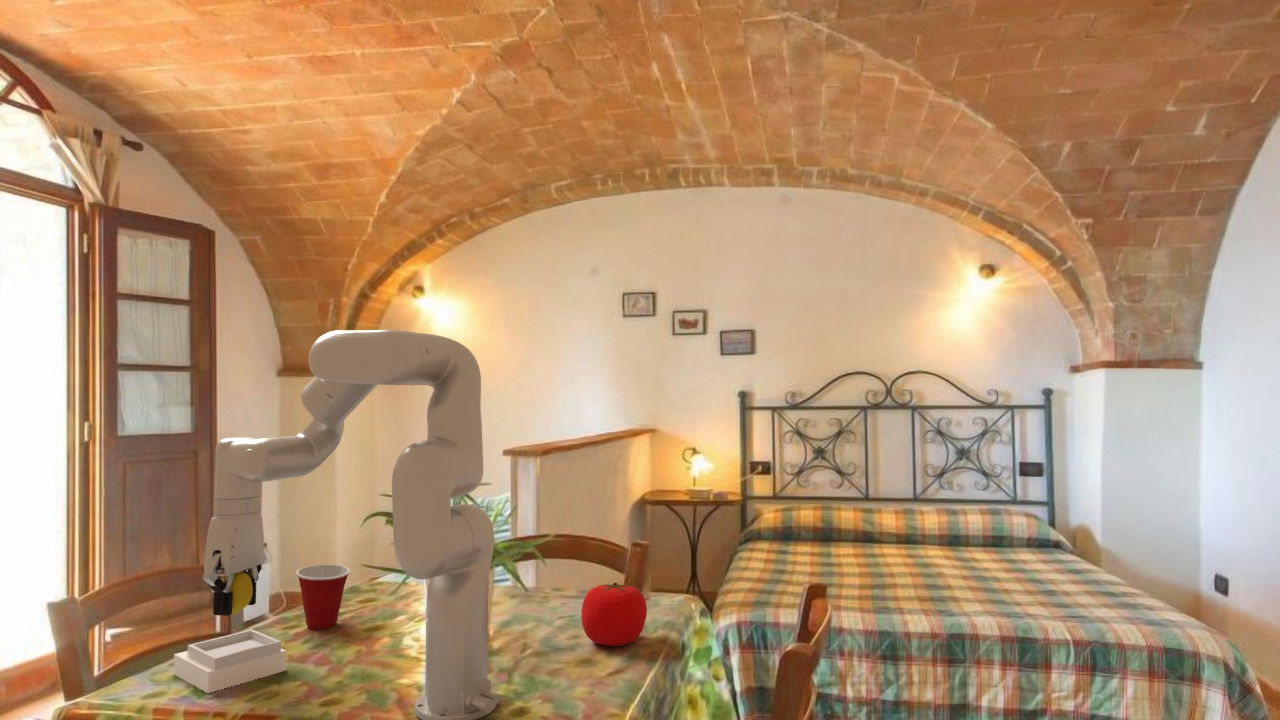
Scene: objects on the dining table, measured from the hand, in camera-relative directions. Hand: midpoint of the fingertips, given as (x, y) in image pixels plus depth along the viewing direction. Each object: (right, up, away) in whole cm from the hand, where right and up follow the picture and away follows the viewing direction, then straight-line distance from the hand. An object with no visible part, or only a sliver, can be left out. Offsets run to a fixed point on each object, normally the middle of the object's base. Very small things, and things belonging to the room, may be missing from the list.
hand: (234, 608), depth 130 cm
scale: (-1, -12, 0) cm, 12 cm away
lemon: (0, -1, 0) cm, 1 cm away
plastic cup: (+4, -13, +27) cm, 30 cm away
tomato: (+67, -12, +16) cm, 70 cm away
